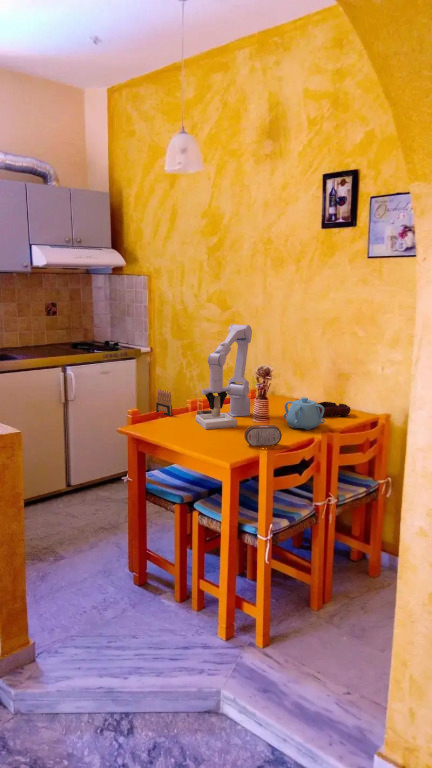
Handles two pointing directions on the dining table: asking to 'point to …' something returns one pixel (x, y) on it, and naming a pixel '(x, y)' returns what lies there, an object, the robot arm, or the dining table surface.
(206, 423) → the tray
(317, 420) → the decorative pot
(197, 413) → the frame
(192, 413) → the dining table surface
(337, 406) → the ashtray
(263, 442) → the tin
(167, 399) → the ammunition clip
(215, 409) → the dowel
